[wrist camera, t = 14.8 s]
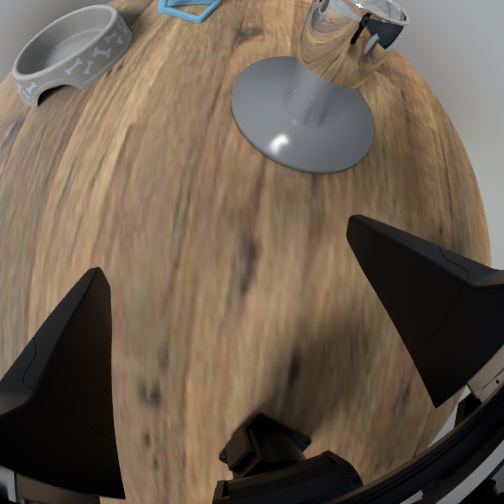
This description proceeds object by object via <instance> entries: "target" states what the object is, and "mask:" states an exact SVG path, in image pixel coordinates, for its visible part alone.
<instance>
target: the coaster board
mask: <svg viewBox="0 0 504 504" xmlns="http://www.w3.org/2000/svg"><path fill="white" fill-rule="evenodd" d="M296 60H297V57H287V56H282V57H272V58H267V59H263V60H260V61H258V62H256V63H253V64H252V65H250V66H248V67H247V68H246V69H245V70H244V71H242V73H241V74H240V75H239V76H238V78H237V79H236V81H235V83H234V86H233V90H232V97H231V110H232V115H233V118H234V121H235V123H236V125H237V127H238V129H239V130H240V132H241V133H242V135H243V136H244V137H245V139H246V140H247V141H248V142H249V143H250V144H251V145H252V146H253V147H254V148H255V149H257V150H258V151H259V152H260V153H262V154H263V155H264V156H266V157H268V158H269V159H271V160H272V161H274V162H276V163H278V164H280V165H282V166H285V167H287V168H290V169H293V170H296V171H300V172H305V173H311V174H333V173H337V172H341V171H344V170H346V169H349V168H350V167H352V166H354V165H355V164H356V163H357V162H359V161H360V160H361V159H362V158H363V157H364V156H365V155H366V154H367V152H368V151H369V149H370V147H371V145H372V142H373V139H374V122H373V117H372V114H371V111H370V109H369V107H368V105H367V103H366V101H365V100H364V98H363V97H362V95H361V94H360V93H359V91H358V90H357V89H356V88H355V89H354V90H353V91H352V92H351V93H350V94H349V95H348V96H347V97H346V98H345V99H344V100H343V102H342V103H341V105H340V107H339V110H338V113H337V115H336V118H335V120H334V121H333V123H332V124H331V125H329V126H328V127H325V128H322V129H311V128H307V127H304V126H301V125H299V124H297V123H295V122H294V121H292V120H291V119H290V118H289V117H288V116H287V115H286V114H285V113H284V111H283V109H282V107H281V103H280V97H281V94H282V92H283V90H284V89H285V88H286V86H287V85H288V84H289V82H290V81H291V79H292V77H293V75H294V71H295V67H296Z"/></svg>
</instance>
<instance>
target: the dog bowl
mask: <svg viewBox="0 0 504 504" xmlns="http://www.w3.org/2000/svg"><path fill="white" fill-rule="evenodd" d="M131 41H132V33H131V31H130V29H129V27H128V26H127V25H126V23H125V21H124V20H123V18H122V16H121V15H120V13H119V11H118V10H117V9H116V8H115V7H113V6H111V5H94V6H89V7H85V8H82V9H79V10H76V11H74V12H71V13H69V14H67V15H65V16H63V17H61V18H59V19H58V20H56V21H54V22H53V23H51V24H50V25H48V26H47V27H45V28H44V29H43V30H42V31H40V32H39V33H38V34H37V35H36V36H34V38H32V39H31V41H29V43H28V44H27V45H26V46H25V47H24V48H23V49H22V51H21V52H20V54H19V55H18V57H17V59H16V61H15V64H14V66H13V76H14V79H15V82H16V85H17V88H18V91H19V94H20V97H21V100H22V102H23V103H24V104H25V105H27V106H30V107H38V98H39V96H40V94H41V93H42V92H43V91H45V90H46V89H51V88H55V87H58V86H61V85H63V84H65V85H72V86H75V87H77V88H78V89H80V90H83V89H85V88H86V87H88V86H89V85H91V84H92V83H94V82H95V81H96V80H98V79H99V78H100V77H102V76H103V75H104V74H105V73H106V72H107V71H109V70H110V69H111V68H112V67H113V66H114V65H115V64H116V63H117V62H118V61H119V60H120V59H121V58H122V57H123V55H124V54H125V53H126V51H127V50H128V48H129V46H130V44H131Z"/></svg>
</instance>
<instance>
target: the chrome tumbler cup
mask: <svg viewBox="0 0 504 504" xmlns="http://www.w3.org/2000/svg"><path fill="white" fill-rule="evenodd" d="M409 23H410V18H409V16H408V14H407V13H406V12H405V11H404V10H403V8H402V7H401V6H399V5H398V4H397V3H396V2H395V1H393V0H313V1H312V3H311V5H310V7H309V10H308V12H307V14H306V17H305V20H304V23H303V26H302V29H301V34H300V39H299V45H298V52H297V60H296V67H295V71H294V75H293V77H292V79H291V81H290V82H289V84H288V85H287V86H286V88H285V89H284V90H283V92H282V94H281V97H280V103H281V107H282V109H283V111H284V113H285V114H286V115H287V116H288V117H289V118H290V119H291V120H292V121H294V122H295V123H297V124H299V125H301V126H304V127H307V128H311V129H322V128H325V127H328V126H329V125H331V124H332V123H333V121H334V120H335V118H336V115H337V113H338V110H339V107H340V105H341V103H342V102H343V100H344V99H345V98H346V97H347V96H348V95H349V94H350V93H351V92H352V91H353V90H354V89H355V88H357V87H358V86H359V85H360V84H361V83H363V82H364V81H365V80H366V79H367V78H368V77H370V76H371V75H372V74H373V73H374V72H375V71H376V70H377V69H378V68H379V67H380V66H381V64H382V63H383V62H384V61H385V60H386V58H387V57H388V56H389V54H390V53H391V51H392V50H393V49H394V47H395V45H396V44H397V42H398V40H399V39H400V37H401V36H402V34H403V32H404V30H405V29H406V27H407V26H408V24H409Z"/></svg>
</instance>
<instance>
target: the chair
mask: <svg viewBox="0 0 504 504" xmlns="http://www.w3.org/2000/svg"><path fill="white" fill-rule="evenodd" d="M220 2H221V0H159V6H158V12H159V13H164V14H168V15H172V16H175V17H179V18H182V19H185V20H188V21H191V22H195V23H202V22H203V21H204V19H205V18H206V17H207V16H208V15H209V14H210V13H211V12H212V11H213V10H214V9H215V8H216V7H217V6H218V5H220ZM192 4H212V5H210V6H209V7H208V8H207V9H206V10H205V11H204V12H203V13H202V14H201V15H200V16H195V15H192V14H189V13H186V12H183V11H180V10H177V9H174V8H171V7H167V6H177V5H192Z"/></svg>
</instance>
